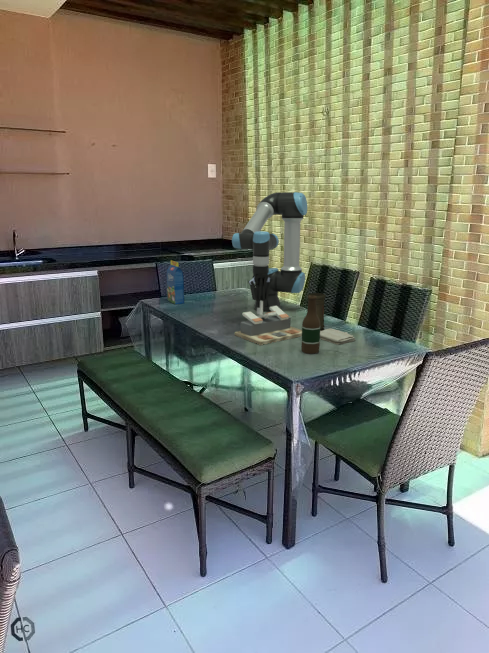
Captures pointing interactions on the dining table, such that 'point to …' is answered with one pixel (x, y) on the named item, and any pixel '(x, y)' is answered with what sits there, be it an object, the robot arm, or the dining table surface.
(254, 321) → the switch
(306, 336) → the beer bottle
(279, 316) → the switch
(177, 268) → the blue food package
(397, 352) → the dining table surface
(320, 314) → the container
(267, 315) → the switch middle
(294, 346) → the dining table surface
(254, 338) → the switch board
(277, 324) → the switch housing
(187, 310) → the dining table surface
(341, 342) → the washcloth
